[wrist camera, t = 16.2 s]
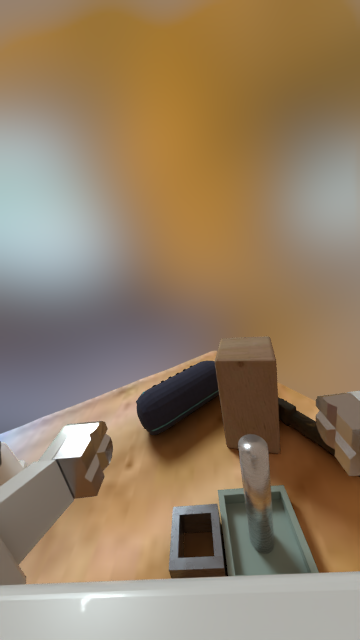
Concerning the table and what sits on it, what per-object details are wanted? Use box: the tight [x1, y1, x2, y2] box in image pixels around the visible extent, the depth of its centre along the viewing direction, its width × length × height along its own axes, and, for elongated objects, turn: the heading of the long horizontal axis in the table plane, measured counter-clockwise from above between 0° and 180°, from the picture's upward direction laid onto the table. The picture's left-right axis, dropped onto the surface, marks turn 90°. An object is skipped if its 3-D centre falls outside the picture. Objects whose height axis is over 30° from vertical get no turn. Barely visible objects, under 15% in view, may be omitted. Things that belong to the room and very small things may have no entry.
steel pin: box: [238, 434, 275, 554], centre depth 26 cm, size 3×3×16 cm
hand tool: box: [278, 397, 360, 477], centre depth 41 cm, size 19×4×5 cm, turn 25°
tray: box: [218, 485, 319, 576], centre depth 28 cm, size 10×10×2 cm
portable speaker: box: [136, 361, 219, 435], centre depth 54 cm, size 25×10×10 cm, turn 124°
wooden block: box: [215, 337, 280, 454], centre depth 42 cm, size 10×10×20 cm
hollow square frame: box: [169, 504, 227, 579], centre depth 28 cm, size 6×6×4 cm
